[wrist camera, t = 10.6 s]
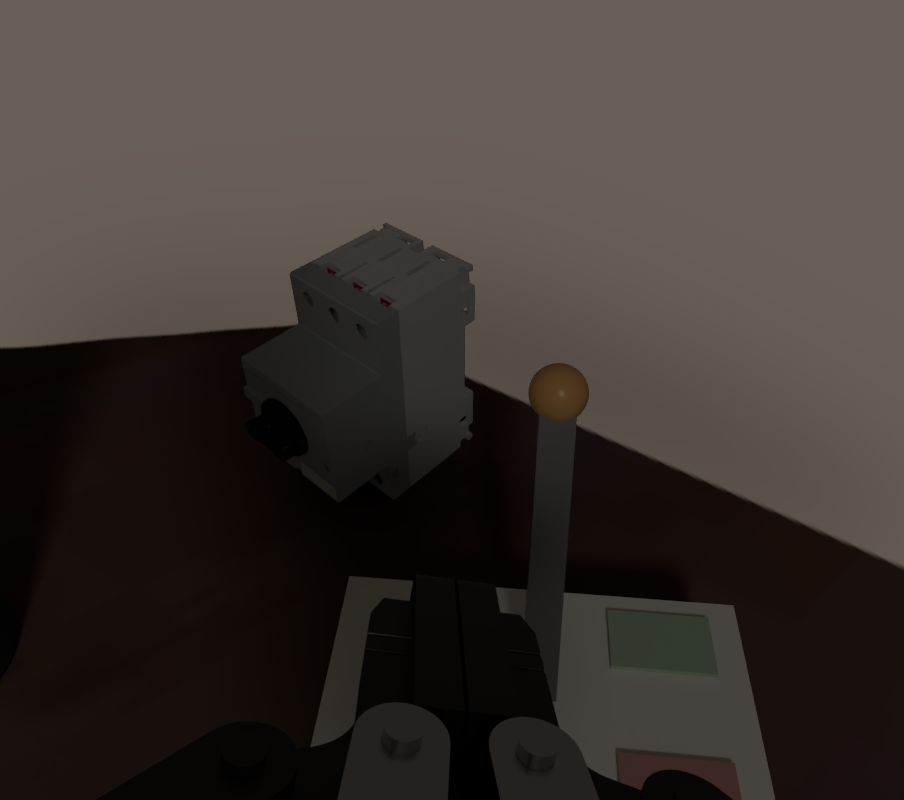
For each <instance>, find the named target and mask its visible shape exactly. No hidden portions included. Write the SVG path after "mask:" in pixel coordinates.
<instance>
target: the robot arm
mask: <svg viewBox="0 0 904 800" xmlns="http://www.w3.org/2000/svg"><path fill="white" fill-rule="evenodd" d="M16 638H17V624H16V619H15V617H14V614H13V612H12V609H11V608H10V607H9V606H8V604H7V603H6V602H5V600H4V599H3V598H2V597H1V595H0V677H1V675H2V674H3V672H4V670H5V669H6V667H7V666H8V664H9V661H10V659H11V656H12V654H13V652H14V649H15V644H16ZM97 800H733V799H732V798H731V797H729V796H728V795H727V794H725V793H724V792H723V791H721V790H720V789H719V788H717V787H716V786H715V785H713V784H712V783H710V782H708V781H707V780H705V779H703V778H701V777H699V776H697V775H694V774H691V773H688V772H685V771H680V770H670V769H669V770H661V771H657V772H655V773H653V774H651V775H650V776H649V777H648V778H646V780H645V782H644V783H643V786H642V790H640V789H637V788H634V787H632V786H629V785H626V784H623V783H621V782H618V781H615V780H613V779H610V778H608V777H605V776H603V775H601V774H599V773H597V772H595V771H593V770H592V769H590V768H589V767H587V765H586V763H585V760H584V757H583V754H582V752H581V750H580V748H579V746H578V745H577V744H576V742H575V741H574V740H573V739H572V738H571V737H570V736H569V735H568V734H567V733H566V732H565V731H563V730H562V729H560V728H559V725H558V721H557V717H556V713H555V709H554V705H553V701H552V697H551V693H550V689H549V685H548V681H547V677H546V673H544V665H543V661H542V657H541V656H540V649H539V645H538V641H537V637H536V633H535V632H534V631H533V630H532V628H531V627H530V626H529V625H528V624H527V623H526V621H525V620H524V619H523V618H522V617H521V615H517V614H509V613H501V612H500V607H499V602H498V596H497V591H496V586H495V585H494V584H488V583H480V582H473V581H465V580H456V581H455V583H454V579H449V578H441V577H433V576H426V575H418V574H415V576H414V580H413V585H412V591H411V596H410V601H405V600H398V599H390V598H383V599H382V600H381V602H380V603H379V604H378V605H377V606H376V607H375V608H374V609H373V611H372V612H371V613H370V619H369V626H368V632H367V638H366V645H365V651H364V657H363V663H362V670H361V676H360V682H359V690H358V698H357V707H356V715H355V723H354V724H353V725H352V727H351V728H350V729H349V730H348V731H347V732H346V733H345V734H343V735H342V736H340V737H339V738H337V739H335V740H333V741H331V742H328V743H325V744H322V745H318V746H313V747H307V748H301V749H296V747H295V744H294V743H293V741H292V740H291V739H290V738H289V737H288V736H287V735H286V734H285V733H284V732H282V731H281V730H279V729H278V728H275V727H273V726H271V725H268V724H264V723H259V722H236V723H231V724H227V725H224V726H221V727H218V728H216V729H214V730H212V731H210V732H209V733H207V734H205V735H204V736H202V737H200V738H199V739H197V740H195V741H194V742H192V743H190V744H189V745H187V746H185V747H184V748H182V749H180V750H179V751H177V752H175V753H174V754H172V755H170V756H169V757H167V758H165V759H164V760H162V761H160V762H159V763H157V764H155V765H153V766H152V767H150V768H148V769H147V770H145V771H143V772H142V773H140V774H138V775H137V776H135V777H133V778H132V779H130V780H128V781H127V782H125V783H123V784H122V785H120V786H118V787H117V788H115V789H113V790H112V791H110V792H108V793H107V794H105V795H103V796H102V797H100V798H98V799H97Z"/></svg>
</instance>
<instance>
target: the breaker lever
mask: <svg viewBox="0 0 904 800" xmlns="http://www.w3.org/2000/svg"><path fill="white" fill-rule="evenodd" d="M588 397H589V389H588V384H587V382H586V379H585V378H584V376H583V375H582V373H581V372H579V371H578V370H577V369H576V368H574V367H572V366H570V365H567V364H563V363H556V364H550V365H548V366H545V367H543V368H542V369H540V370H539V371H538V372H537V373H536V374H535V375H534V377H533V378H532V380H531V383H530V386H529V400H530V404H531V406H532V408H533V409H534V411H535V412H536V413H537V414H538V422H537V437H536V452H535V467H534V483H533V498H532V513H531V529H530V544H529V559H528V574H527V590H526V605H525V621H526V623H527V624H528V625H529V626H530V627H531V628H532V630H533V631H534V632H535V633H536V637H537V641H538V645H539V649H540V656H541V657H542V661H543V665H544V673H546V677H547V681H548V685H549V689H550V693H551V697H552V701H553V702H556V696H557V682H558V668H559V654H560V641H561V627H562V613H563V599H564V586H565V572H566V558H567V545H568V531H569V517H570V503H571V490H572V476H573V462H574V449H575V435H576V421H577V416H579V415H580V414H581V412H582V411H583V410H584V408H585V406H586V404H587V402H588Z"/></svg>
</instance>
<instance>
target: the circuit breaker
mask: <svg viewBox="0 0 904 800" xmlns="http://www.w3.org/2000/svg"><path fill="white" fill-rule="evenodd" d="M383 227H384V228H383V229H381V230H379V231H377V230H375V229H373V230H371V231H369V232H368V233H366V234H364V235H362V236H360V237H358V238H356V239H354V240H353V241H350V242H348V243H347V244H344V245H342V246H340V247H339V248H337V249H335V250H333V251H331V252H329V253H327V254H325V255H323V256H321V257H320V258H317V259H316V260H313V261H312V262H310V263H308V264H306V265H304V266H302V267H300V268H298V269H296V270H294V271H292V272H291V273H290V278H291V284H292V289H293V295H294V300H295V305H296V310H297V316H298V322H299V323H298V324H297V325H296V326H294V327H292V328H291V329H289V330H287V331H285V332H284V333H282V334H280V335H279V336H277V337H275V338H273V339H272V340H270V341H268V342H267V343H265V344H263V345H261V346H260V347H258V348H256V349H255V350H253V351H251V352H249V353H248V354H246V355H244V356H242V357H241V360H242V365H243V369H244V373H245V376H246V380H247V384H248V385H246V386H245V387H243V389H244V392H245V396H246V397H248V398H249V399H250V400H251V401H252V403H253V406H254V410H255V414H256V417H255V418H254V419H252V420H250V421H249V422H247V423H246V424H245V426H246V429H247V431H248V433H249V434H250V435H251V436H252V437H253V438H254V439H255V440H257V441H260V442H261V443H262V444H264V445H265V446H266V447H267V448H269V449H270V450H271V451H272V452H273V454H274V455H275V456H277V457H278V458H279V459H280V460H282V461H283V462H288V463H289V464H290V465H291V466H293V467H294V468H295V469H297V468H299V469H300V470H301V471H302V472H301V474H303V475H304V476H305V477H306V478H308V479H309V480H310V481H311V482H313V483H314V484H315V485H316V486H318V487H319V488H320V489H321V490H323V491H324V492H325V493H326V494H328V495H329V496H330V497H331V498H333V499H334V500H335V501H336V502H338V503H339V502H341V501H342V500H343V499H345V498H346V497H347V496H349V495H350V494H351V493H353V492H354V491H355V490H356V489H358V488H359V487H360V486H362V485H363V484H364V483H366V482H367V481H369V482H370V483H372V484H373V485H374V486H376V487H377V488H378V489H380V490H381V491H382V492H384V493H385V494H386V495H387V496H389V497H390V498H391V499H393V500H395V499H396V498H397V497H399V496H400V495H401V494H402V493H404V492H405V491H406V490H407V489H409V488H410V487H411V486H412V485H413V484H415V483H416V482H417V481H418V480H420V479H421V478H422V477H423V476H425V475H426V474H427V473H428V472H430V471H431V470H432V469H433V468H435V467H436V466H437V465H438V464H439V463H441V462H442V461H443V460H444V459H446V458H447V457H448V456H449V455H451V454H452V453H453V452H454V451H456V450H457V449H458V448H459V447H460V441H461V440H462V439H463V438H466V439H467V440H469V439H470V438H472V433H471V432H469V431H468V428H469V425H470V424H471V423H472V422H473V391H472V390H470V389H469V388H467V387H465V326H466V325H467V324H469V323H471V322H472V321H473V320H474V319H475V286H474V285H473V284H471V283H470V280H469V271H472V270H473V265H472V264H470V263H468V262H465V261H464V260H461V259H459V258H457V257H455V256H453V255H451V254H449V253H447V252H445V251H443V250H441V249H439V248H437V247H435V246H430V247H429V248H427V249H425V250H424V246H423V241H422V240H420V239H418V238H416V237H414V236H412V235H410V234H408V233H405V232H404V231H402V230H399V229H397V228H395V227H393V226H391V225H389V224H387V223H385V224H383ZM407 242H409V243H411V244H408V243H407ZM440 258H442V259H444V260H445V261H442V260H440ZM466 307H467V311H465V310H464V308H466ZM465 415H466V418H465V419H464V420H463V421H462V422H460V419H462V418H463V417H464V416H465Z"/></svg>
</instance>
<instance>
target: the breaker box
mask: <svg viewBox="0 0 904 800" xmlns="http://www.w3.org/2000/svg"><path fill="white" fill-rule="evenodd" d="M412 585H413V581H407V580H394V579H381V578H368V577H355V576H349V580H348V585H347V589H346V593H345V598H344V602H343V607H342V611H341V615H340V620H339V624H338V629H337V633H336V637H335V642H334V646H333V651H332V655H331V659H330V664H329V668H328V673H327V677H326V681H325V686H324V690H323V695H322V699H321V703H320V708H319V712H318V717H317V721H316V725H315V730H314V734H313V739H312V743H311V747H313V746H318V745H322V744H325V743H328V742H331V741H333V740H335V739H337V738H339V737H340V736H342V735H343V734H345V733H346V732H347V731H348V730H349V729H350V728H351V727H352V725H353V724H354V723H355V715H356V707H357V698H358V690H359V682H360V676H361V670H362V663H363V657H364V651H365V645H366V638H367V632H368V626H369V619H370V613H371V612H372V611H373V609H374V608H375V607H376V606H377V605H378V604H379V603H380V602H381V600H382V599H383V598H390V599H398V600H405V601H410V596H411V591H412ZM496 591H497V596H498V602H499V607H500V612H501V613H509V614H517V615H521V617H522V618H523V619H524V620H525V605H526V590H524V589H511V588H498V587H496ZM553 705H554V709H555V713H556V717H557V721H558V725H559V728H560V729H562V730H563V731H565V732H566V733H567V734H568V735H569V736H570V737H571V738H572V739H573V740H574V741H575V742H576V744H577V745H578V746H579V748H580V750H581V752H582V754H583V757H584V760H585V763H586V765H587V767H589V768H590V769H592V770H593V771H595V772H597V773H599V774H601V775H603V776H605V777H608V778H610V779H613V780H615V781H618V782H621V783H623V784H626V785H629V786H632V787H634V788H637V789H640V790H642V786H643V783H644V782H645V780H646V778H648V777H649V776H650V775H651V774H653V773H655V772H657V771H661V770H669V769H670V770H680V771H685V772H688V773H691V774H694V775H697V776H699V777H701V778H703V779H705V780H707V781H708V782H710V783H712V784H713V785H715V786H716V787H717V788H719V789H720V790H721V791H723V792H724V793H725V794H727V795H728V796H729V797H731V798H732V799H733V800H775V797H774V792H773V787H772V783H771V778H770V773H769V769H768V764H767V759H766V755H765V750H764V745H763V741H762V736H761V732H760V727H759V722H758V718H757V713H756V708H755V704H754V699H753V694H752V690H751V685H750V680H749V676H748V671H747V666H746V662H745V657H744V653H743V648H742V643H741V639H740V634H739V629H738V625H737V620H736V615H735V611H734V606H733V605H720V604H707V603H694V602H681V601H668V600H654V599H641V598H628V597H615V596H602V595H589V594H576V593H564V599H563V613H562V627H561V641H560V654H559V668H558V682H557V696H556V702H553Z"/></svg>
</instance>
